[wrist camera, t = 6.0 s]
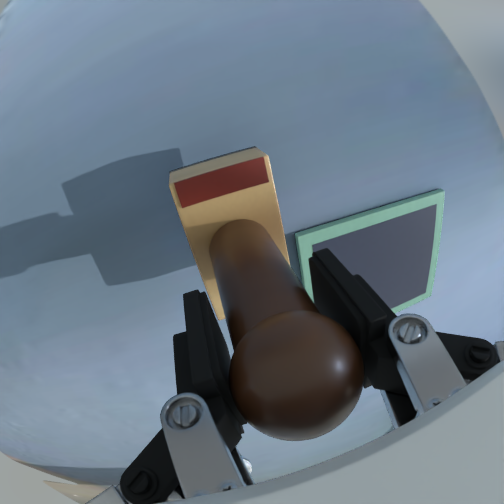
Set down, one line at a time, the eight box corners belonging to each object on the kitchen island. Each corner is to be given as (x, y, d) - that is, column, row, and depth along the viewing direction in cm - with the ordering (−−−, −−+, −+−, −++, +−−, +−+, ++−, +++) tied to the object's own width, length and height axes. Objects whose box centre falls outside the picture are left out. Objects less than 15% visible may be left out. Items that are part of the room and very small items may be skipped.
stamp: (282, 272, 19) (381, 446, 9) (212, 295, 19) (263, 491, 8) (254, 146, 15) (424, 273, 5) (169, 171, 15) (164, 366, 4)
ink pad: (310, 343, 28) (312, 348, 28) (294, 232, 22) (297, 237, 21) (427, 292, 29) (431, 296, 29) (440, 188, 23) (445, 191, 22)
